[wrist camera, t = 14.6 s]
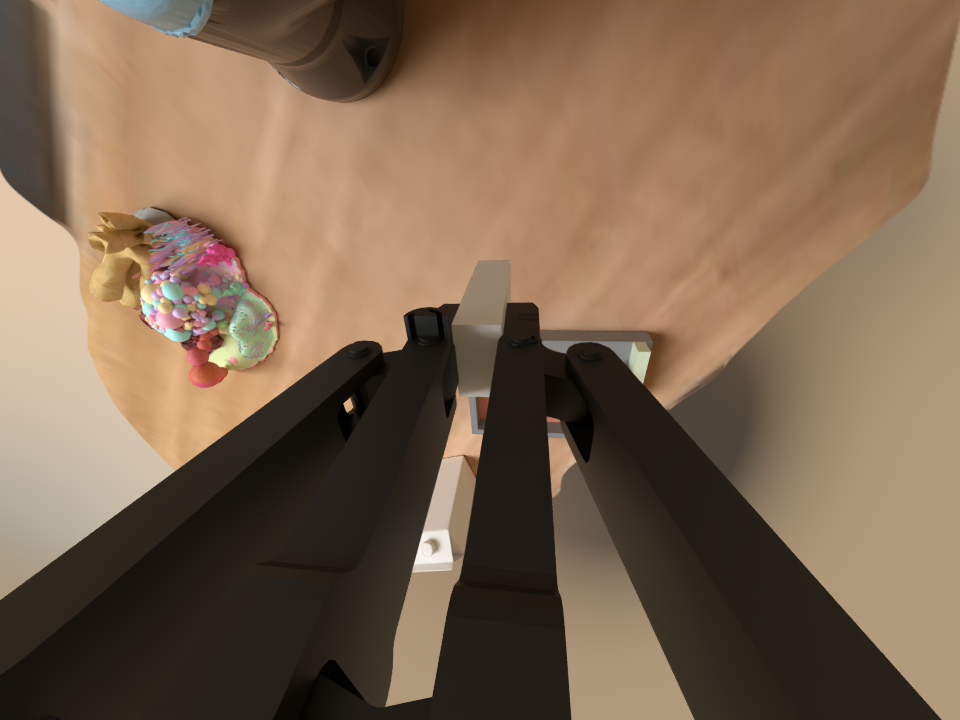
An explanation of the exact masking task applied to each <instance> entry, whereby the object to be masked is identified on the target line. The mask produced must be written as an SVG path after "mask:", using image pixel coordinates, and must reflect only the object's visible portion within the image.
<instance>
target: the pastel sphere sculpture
mask: <svg viewBox="0 0 960 720" xmlns="http://www.w3.org/2000/svg"><path fill="white" fill-rule="evenodd" d="M98 214H99V216H100V218H101V220H102V222H103V224H105V225H96V227H97V228H98V229H99V230H100V231H101V232H89V241H90V244H91V246H92V247H93V248H95V249H98V250H100V251H103V252H104V253H105V256H104V259H103V261H102V264H101V265H99V266H98V267H97V269H96V270H95V272H94V273H93V276H92V279H91V282H90V285H89V290H90V292H91V293H92V294H93V295H94V296H95V297H97V298H98V299H100V300H101V301H105V302H111V301H116V300H119V301H120V303H121V304H122V305H125V306H128V307H131V308H134V309H136V310H139V309H141V308H143V309H142V311H141V314H142V315H139V317H140V319H141V320H142V321H143V322H144V323H145V324H146V325H147V326H148V327H150V328H151V329H156V330H157V331H158V332H160V333H164V335H165V336H166V337H168V338H170V339H171V340H173V341H176V342H180V343H181V344H182V345H181V346H182V347H183V348H184V349H185V350H187V351H189V352H188V353H187V360H188V361H189V362H190V363H191V364H193V367H192V368H191V369H190V371H189V379H190V381H191V382H192V383H193V384H194V385H196V386H198V387H201V388H207V387H212V386H214V385H216V384H218V383H220V382H221V381H222V380H223V379H224V377H226V376H227V374H228V370H232V371H234V370H244V369H246V368H251V367H253V366H254V365H256V364H257V363H258V361H262V360H264V359H265V358H266V356H267V355H268V354H270V353H271V352H273V351H274V345H275V344H276V341H277V340H278V339H279V336H278V326H277V317H276V312H275V311H274V310H273V308H272V305H271V304H270V303H269V302H268V301H267V300H266V299H265V298H264V297H263V296H261V295H259V294H258V293H257V292H256V291H254V290H252V289H251V288H250V287H249V284H248V283H247V282H246V277H245V271H244V269H243V268H242V267H241V265H240V260H239V258H238V257H237V256H236V255H235V251H234V250H233V249H232V248H227V247H225V246H224V245H222V244H219V243H218V242H219V241H222V240H223V239H221V240H219V239H215V240H214V238H213V237H212V236H215V235H214V234H210V235H209V233H208V232H207V231H211V229H207V230H205V231H202V230H204V229H206V228H205V227H204V228H201V229H200V228H199V227H196V226H198V225H199V224H202V223H201V222H200V223H197V224H194V225H191V226H189V225H188V224H187V223H188V222H187V221H191V219H188V217H184V218H182V219H178V220H179V221H178V220H174V218H173V217H171V216H170V215H168V214H167V213H166V212H163V211H160V210H156V209H153V208H149V207H146V208H145V209H144V210H142V209H138V210H137V211H136V212H135V213H134V216H132V215H126V214H122V213H107V212H100V213H98ZM184 219H188V220H185V221H181V220H184ZM201 231H202V232H201Z"/></svg>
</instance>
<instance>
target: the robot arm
mask: <svg viewBox="0 0 960 720" xmlns="http://www.w3.org/2000/svg"><path fill="white" fill-rule="evenodd" d="M99 1H101V2H102V3H104V4H106V5H107V6H109V7H110V8H112V9H114V10H116V11H118V12H120V13H122V14H124V15H126V16H129V17H131V18H133V19H136V20H138V21H140V22H143V23H145V24H147V25H150V26H152V27H153V28H154V29H156V30H158V31H160V32H162V33H164V34H167V35H171V36H175V37H177V38H178V37H179V36H181V37H183V38H185V37H188V38H191V39H194V40H198V41H201V42H204V43H208V44H211V45H214V46H218V47H221V48H224V49H228V50H231V51H234V52H238V53H241V54H244V55H248V56H251V57H255V58H258V59H261V60H265V61H267V62H268V63H269V64H270V65H271V66H272V67H273V68H274V69H275V70H276V71H277V72H278V73H279V74H280V75H281V76H282V77H283V78H284V79H285V80H286V81H288V82H289V83H290V84H292V85H293V86H294V87H296V88H297V89H299V90H301V91H303V92H304V93H306V94H308V95H311V96H313V97H316V98H319V99H323V100H328V101H333V102H352V101H356V100H359V99H362V98H364V97H366V96H368V95H369V94H371V93H372V92H373V91H375V90H376V89H377V88H378V87H379V86H380V85H381V84H382V83H383V81H384V80H385V79H386V77H387V76H388V74H389V72H390V70H391V69H392V67H393V64H394V62H395V60H396V57H397V54H398V50H399V47H400V42H401V37H402V29H403V0H99ZM404 322H405V327H406V332H407V337H408V341H407V342H406V344H405V346H404V347H403V349H402V350H398V351H392V352H386V353H383V351H382V346H381V345H380V344H379V343H377V342H374V341H361V342H360V341H357V342H355V343H353V344H349V345H347V346H346V347H344V348H342V349H341V350H339V351H338V352H337V353H335V354H334V355H333V356H331V357H330V358H328V359H327V360H326V361H324V362H323V363H322V364H320V365H319V366H318V367H316V368H315V369H314V370H312V371H311V372H309V373H308V374H307V375H305V376H304V377H303V378H301V379H300V380H299V381H297V382H296V383H295V384H293V385H292V386H290V387H289V388H288V389H286V390H285V391H284V392H282V393H281V394H280V395H278V396H277V397H276V398H274V399H273V400H271V401H270V402H269V403H267V404H266V405H265V406H263V407H262V408H261V409H259V410H258V411H256V412H255V413H254V414H252V415H251V416H250V417H248V418H247V419H246V420H244V421H243V422H242V423H240V424H239V425H237V426H236V427H235V428H233V429H232V430H231V431H229V432H228V433H227V434H225V435H224V436H223V437H221V438H220V439H218V440H217V441H216V442H214V443H213V444H212V445H210V446H209V447H208V448H206V449H205V450H204V451H202V452H201V453H199V454H198V455H197V456H195V457H194V458H193V459H191V460H190V461H189V462H187V463H186V464H185V465H183V466H182V467H180V468H179V469H178V470H176V471H175V472H174V473H172V474H171V475H170V476H168V477H167V478H165V479H164V480H163V481H162V482H160V483H159V484H157V485H156V486H155V487H153V488H152V489H151V490H149V491H148V492H146V493H145V494H144V495H142V496H141V497H140V498H138V499H137V500H136V501H134V502H133V503H132V504H130V505H129V506H127V507H126V508H125V509H123V510H122V511H121V512H119V513H118V514H117V515H115V516H114V517H113V518H111V519H110V520H108V521H107V522H106V523H104V524H103V525H102V526H100V527H99V528H98V529H96V530H95V531H94V532H92V533H91V534H90V535H88V536H87V537H85V538H84V539H83V540H81V541H80V542H79V543H77V544H76V545H75V546H73V547H72V548H70V549H69V550H68V551H66V552H65V553H64V554H62V555H61V556H60V557H58V558H57V559H56V560H54V561H53V562H51V563H50V564H49V565H47V566H46V567H45V568H43V569H42V570H41V571H39V572H38V573H36V574H35V575H34V576H32V577H31V578H30V579H28V580H27V581H26V582H25V583H23V584H22V585H20V586H19V587H18V588H16V589H15V590H13V591H12V592H11V593H9V594H8V595H7V596H5V597H4V598H3V599H1V600H0V720H571V708H570V694H569V680H568V666H567V652H566V639H565V626H564V616H563V606H562V600H561V596H560V594H559V591H558V585H557V574H556V558H555V544H554V543H555V542H554V526H553V510H552V493H551V477H550V461H549V445H548V429H547V417H551V418H554V419H558V420H560V426H561V429H562V431H563V433H564V435H565V438H566V440H567V442H568V444H569V446H570V448H571V451H572V453H573V455H574V457H575V459H576V462H577V463H578V466H579V468H580V470H581V472H582V475H583V477H584V479H585V481H586V483H587V486H588V488H589V490H590V492H591V494H592V496H593V499H594V501H595V503H596V505H597V507H598V510H599V512H600V514H601V516H602V518H603V520H604V523H605V525H606V527H607V529H608V531H609V534H610V536H611V538H612V540H613V542H614V545H615V547H616V549H617V551H618V553H619V555H620V558H621V560H622V562H623V564H624V566H625V569H626V571H627V573H628V575H629V577H630V580H631V582H632V584H633V586H634V588H635V590H636V593H637V595H638V597H639V599H640V601H641V603H642V606H643V608H644V610H645V612H646V614H647V617H648V619H649V621H650V623H651V625H652V627H653V630H654V632H655V634H656V636H657V638H658V640H659V643H660V645H661V647H662V649H663V652H664V654H665V656H666V658H667V660H668V663H669V665H670V667H671V669H672V671H673V673H674V675H675V678H676V680H677V682H678V684H679V686H680V689H681V691H682V693H683V695H684V697H685V700H686V702H687V704H688V706H689V708H690V711H691V713H692V715H693V717H694V719H695V720H941V719H940V717H939V716H938V715H937V714H936V713H935V712H934V711H933V710H932V708H931V707H930V706H929V705H928V704H927V703H926V702H925V701H924V700H923V698H922V697H921V696H920V695H919V694H918V693H917V692H916V690H915V689H914V688H913V687H912V686H911V685H910V684H909V683H908V681H907V680H906V679H905V678H904V677H903V676H902V675H901V674H900V672H899V671H898V670H897V669H896V668H895V667H894V666H893V665H892V663H891V662H890V661H889V660H888V659H887V658H886V657H885V656H884V654H883V653H881V651H880V650H879V649H878V648H877V647H876V645H875V644H874V643H873V642H872V641H871V640H870V639H869V638H868V637H867V635H866V634H865V633H864V632H863V631H862V630H861V629H860V627H859V626H858V625H857V624H856V623H855V622H854V621H853V620H852V618H851V617H850V616H849V615H848V614H847V613H846V612H845V611H844V610H843V609H842V607H841V606H840V605H839V604H838V603H837V602H836V601H835V599H834V598H833V597H832V596H831V595H830V594H829V593H828V592H827V591H826V589H825V588H824V587H823V586H822V585H821V584H820V583H819V581H818V580H817V579H816V578H815V577H814V576H813V575H812V574H811V573H810V571H809V570H808V569H807V568H806V567H805V566H804V565H803V563H802V562H801V561H800V560H799V559H798V558H797V557H796V556H795V555H794V553H793V552H792V551H791V550H790V549H789V548H788V547H787V545H786V544H785V543H784V542H783V541H782V540H781V539H780V538H779V537H778V535H777V534H776V533H775V532H774V531H773V530H772V529H771V527H769V525H768V524H767V523H766V522H765V521H764V520H763V518H762V517H761V516H760V515H759V514H758V513H757V512H756V511H755V509H754V508H753V507H752V506H751V505H750V504H749V503H748V502H747V500H746V499H745V498H744V497H743V496H742V495H741V494H740V493H739V492H738V490H737V489H736V488H735V487H734V486H733V485H732V484H731V483H730V481H729V480H728V479H727V478H726V477H725V476H724V475H723V473H722V472H721V471H720V470H719V469H718V468H717V467H716V466H715V465H714V463H713V462H712V461H711V460H710V459H709V458H708V457H707V455H706V454H705V453H704V452H703V451H702V450H701V449H700V448H699V447H698V445H697V444H696V443H695V442H694V441H693V440H692V439H691V438H690V437H689V435H688V434H687V433H686V432H685V431H684V430H683V429H682V427H681V426H680V425H679V424H678V423H677V422H676V421H675V420H674V418H673V417H672V416H671V415H670V414H669V413H668V412H667V411H666V409H665V408H664V407H663V406H662V405H661V404H660V403H659V402H658V400H657V399H656V398H655V397H654V396H653V395H652V394H651V393H650V391H649V390H648V389H647V388H646V387H645V386H644V385H643V384H642V382H641V381H640V380H639V379H638V378H637V377H636V376H635V375H634V373H633V372H632V371H631V370H630V369H629V368H628V367H627V366H626V364H625V363H624V362H623V361H622V360H621V359H620V358H619V357H618V355H617V354H616V353H615V352H614V351H613V350H611V349H610V348H609V347H607V346H604V345H602V344H599V343H594V342H581V343H577V344H574V345H572V346H570V347H569V348H568V350H567V351H566V353H561V352H557V351H553V350H551V349H549V348H547V347H545V346H544V345H543V344H542V340H541V338H540V326H539V309H538V307H537V306H536V305H535V304H534V303H511V260H491V261H478V263H477V265H476V268H475V270H474V272H473V275H472V277H471V279H470V282H469V284H468V287H467V289H466V291H465V294H464V296H463V298H462V301H461V303H460V304H443V305H442V306H440V307H439V308H433V307H426V308H419V309H415V310H412V311H410V312H408V313H406V314H405V315H404ZM457 386H458V389H459V396H470V397H489V401H488V408H487V414H486V420H485V427H484V433H483V439H482V446H481V452H480V458H479V464H478V471H477V477H476V483H475V490H474V496H473V502H472V509H471V515H470V521H469V527H468V534H467V540H466V546H465V553H464V559H463V565H462V570H461V575H460V578H459V580H458V582H457V583H456V584H455V585H454V588H453V591H452V594H451V597H450V602H449V607H448V611H447V616H446V622H445V628H444V633H443V639H442V645H441V651H440V656H439V662H438V668H437V673H436V679H435V685H434V690H433V696H432V697H430V698H425V699H421V700H416V701H411V702H406V703H402V704H397V705H392V706H387V707H385V705H386V701H387V697H388V692H389V688H390V682H391V676H392V668H393V646H394V639H395V634H396V629H397V626H398V622H399V618H400V615H401V611H402V607H403V603H404V600H405V596H406V592H407V589H408V585H409V581H410V577H411V574H412V570H413V566H414V563H415V559H416V555H417V551H418V548H419V544H420V540H421V537H422V533H423V529H424V525H425V522H426V518H427V514H428V510H429V507H430V503H431V499H432V496H433V492H434V488H435V484H436V481H437V477H438V473H439V469H440V466H441V462H442V458H443V455H444V451H445V447H446V443H447V440H448V436H449V432H450V428H451V425H452V421H453V417H454V414H455V410H456V406H457V403H456V389H457ZM349 398H351V401H352V404H353V407H354V408H353V409H352V410H351V411H349V412H346V410H345V407H344V405H343V403H344V402H345V401H347V400H348V399H349Z"/></svg>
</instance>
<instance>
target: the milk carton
mask: <svg viewBox="0 0 960 720" xmlns="http://www.w3.org/2000/svg"><path fill="white" fill-rule="evenodd" d="M475 483H476V478H475V476H474V474H473V473H472V471H471V469H470V467H469V465H468V463H467V461H466V459H465V458H464V456H456V457H450V458H444V459H442V462H441V466H440V469H439V473H438V477H437V481H436V484H435V488H434V492H433V496H432V499H431V503H430V507H429V510H428V514H427V518H426V522H425V525H424V529H423V533H422V537H421V540H420V544H419V548H418V551H417V555H416V559H415V563H414V566H413V570H412V572H427V571H443V570H452V568H453V563H454V562H455V561H456V560H458V559H459V558H461V557H462V556H464V553H465V546H466V540H467V534H468V527H469V521H470V515H471V509H472V502H473V496H474V490H475Z"/></svg>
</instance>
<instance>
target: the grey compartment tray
mask: <svg viewBox="0 0 960 720" xmlns="http://www.w3.org/2000/svg"><path fill="white" fill-rule="evenodd" d="M540 338H541V340H542V344H543V345H544V346H545V347H547V348H549V349H551V350H553V351H557V352H561V353H566V351H567V350H568V348H569V347H570V346H572V345H574V344H577V343H581V342H594V343H599V344H602V345H604V346H607V347H609V348H610V349H611V350H613V351H614V352H615V353H616V354H617V355H618V357H619V358H620V359H621V360H622V361H623V362H624V363H625V364H626V366H627V367H628V368H629V369H630V370H631V371H632V372H633V373H634V375H635V376H636V377H637V378H638V379H639V380H640V381H641V382H642V384H643V382H644V378H645V374H646V370H647V366H648V362H649V358H650V354H651V350H652V346H653V341H652V339H651V337H650V336H649V334H648V333H647V331H541V330H540ZM488 401H489V397H470V396H469V403H470V414H471V425H472V434H483V433H484V427H485V420H486V414H487V408H488ZM547 429H548V437H551V438H565V435H564V433H563V431H562V429H561V426H560V420H558V419H554V418H551V417H547Z"/></svg>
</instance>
